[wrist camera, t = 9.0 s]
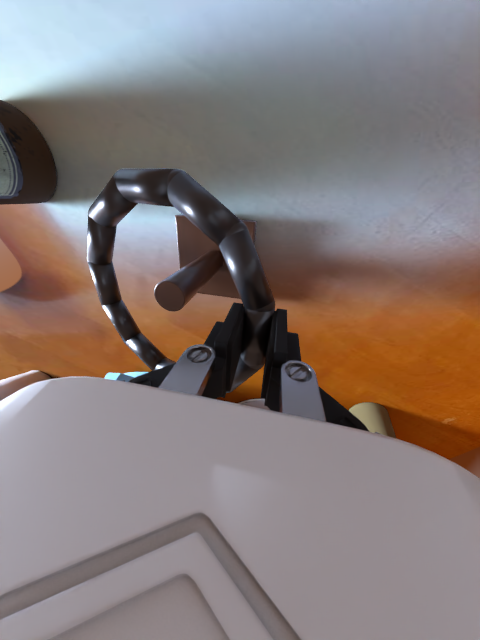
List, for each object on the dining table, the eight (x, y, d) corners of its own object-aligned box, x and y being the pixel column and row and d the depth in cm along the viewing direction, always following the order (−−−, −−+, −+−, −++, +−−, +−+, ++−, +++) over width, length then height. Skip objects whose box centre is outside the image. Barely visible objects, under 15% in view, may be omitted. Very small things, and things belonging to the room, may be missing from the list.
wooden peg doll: (359, 397, 32) (390, 477, 23) (396, 409, 32) (443, 495, 23) (340, 419, 35) (360, 496, 26) (374, 430, 35) (406, 512, 26)
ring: (80, 169, 14) (51, 165, 13) (302, 173, 8) (291, 166, 7) (127, 346, 21) (113, 355, 20) (259, 411, 16) (250, 429, 15)
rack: (180, 214, 24) (95, 223, 13) (256, 221, 22) (232, 236, 12) (186, 286, 28) (126, 337, 18) (249, 295, 27) (227, 355, 16)
